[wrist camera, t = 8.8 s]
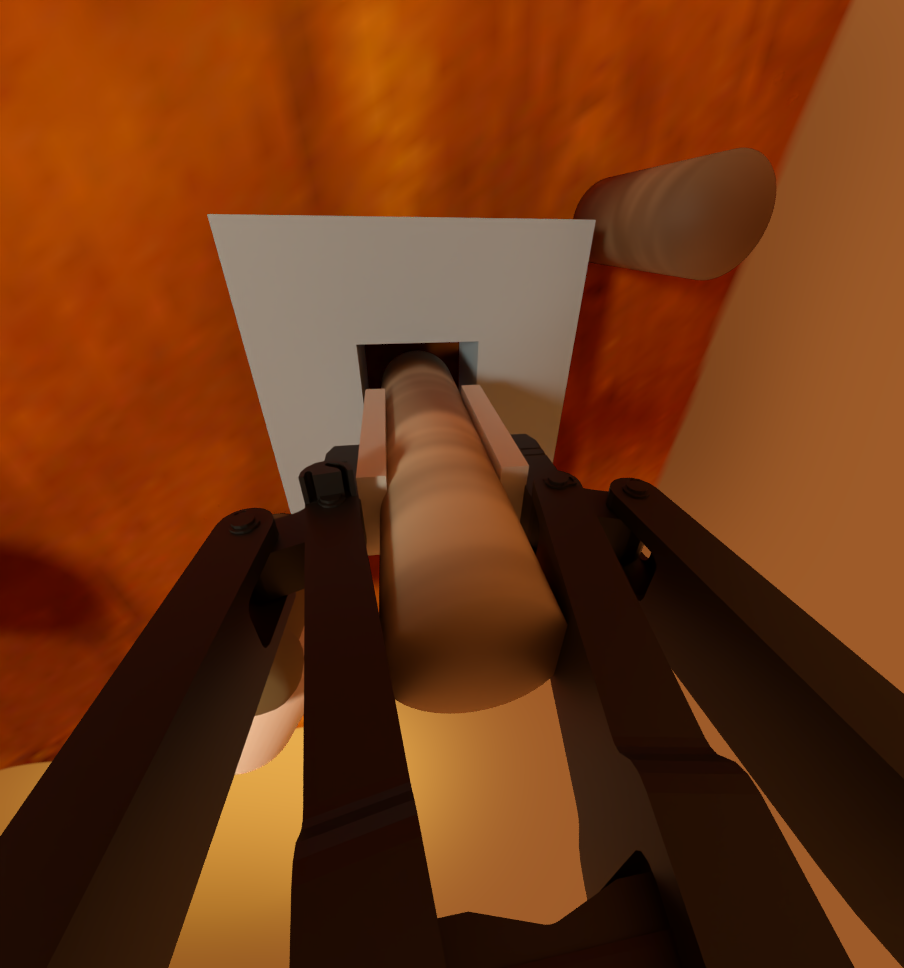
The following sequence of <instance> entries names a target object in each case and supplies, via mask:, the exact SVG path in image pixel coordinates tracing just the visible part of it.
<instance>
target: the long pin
mask: <svg viewBox="0 0 904 968" xmlns="http://www.w3.org/2000/svg"><path fill="white" fill-rule="evenodd" d="M381 389H385V396H386V442H387V492H386V494H385V496H384V498H383V501H382V504H381V510H380V582H379V618H380V623H381V628H382V634H383V639H384V644H385V650H386V655H387V660H388V666H389V671H390V676H391V682H392V687H393V692H394V698H395V699H396V700H397V701H399V702H401V703H402V704H404V705H406V706H409V707H411V708H415V709H418V710H422V711H427V712H434V713H466V712H474V711H480V710H485V709H489V708H493V707H496V706H499V705H503V704H506V703H508V702H511V701H513V700H515V699H518V698H520V697H522V696H524V695H526V694H528V693H530V692H531V691H533V690H535V689H536V688H538V687H539V686H541V685H542V684H544V683H545V682H546V681H547V680H548V679H550V678H551V677H552V676H553V675H554V672H555V669H556V665H557V661H558V658H559V654H560V651H561V647H562V643H563V640H564V636H565V632H566V629H567V625H568V624H567V622H566V620H565V618H564V615H563V613H562V611H561V609H560V607H559V605H558V602H557V600H556V598H555V596H554V594H553V592H552V590H551V587H550V585H549V583H548V581H547V579H546V577H545V575H544V572H543V570H542V568H541V566H540V564H539V562H538V560H537V557H536V555H535V553H534V551H533V549H532V547H531V545H530V542H529V540H528V538H527V536H526V534H525V532H524V530H523V527H522V525H521V523H520V521H519V519H518V517H517V515H516V512H515V510H514V508H513V506H512V504H511V502H510V500H509V497H508V495H507V493H506V491H505V489H504V487H503V485H502V483H501V482H500V479H499V477H498V475H497V473H496V471H495V469H494V466H493V464H492V462H491V460H490V458H489V456H488V453H487V451H486V449H485V447H484V445H483V443H482V441H481V438H480V436H479V434H478V432H477V430H476V428H475V425H474V423H473V421H472V419H471V417H470V415H469V412H468V410H467V408H466V406H465V404H464V402H463V400H462V397H461V395H460V392H459V390H458V388H457V386H456V384H455V382H454V380H453V377H452V375H451V373H450V371H449V369H448V367H447V366H446V364H445V363H444V362H443V361H442V360H441V359H440V358H438V357H437V356H435V355H434V354H431V353H429V352H426V351H409V352H405V353H403V354H400V355H399V356H397V357H396V358H394V359H393V360H392V361H391V362H390V363H389V364H388V366H387V367H386V369H385V371H384V373H383V376H382V382H381Z"/></svg>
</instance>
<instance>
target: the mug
mask: <svg viewBox="0 0 904 968" xmlns="http://www.w3.org/2000/svg"><path fill="white" fill-rule="evenodd" d="M299 641H300V643H301V645H302V648H303V652H304V628H303V631H302V633H301V636H300V639H299ZM303 714H304V665H303V672H302V678H301V680H300V683H299V685H298V687H297V689H296V690H295V692H294V693H293V694H292V696H291V697H290V698H289V699H288V700H287V701H286V703H285V704H283V705H282V706H280V707H279V708H277V709H276V710H273V711H270V712H267V713H265V714H262V715H258V716H254V719H253V722H252V725H251V728H250V731H249V734H248V737H247V740H246V743H245V746H244V748H243V751H242V754H241V757H240V760H239V763H238V766H237V769H236V772H235V774H243V773H247V772H251V771H253V770H256V769H258V768H260V767H262V766H264V765H265V764H267V763H268V762H270V761H271V760H272V759H274V758H275V757H276V756H277V755H278V754H279V753H280V752H281V751H282V750H283V748H284V747H285V746H286V744H287V743H288V741H289V739H290V738H291V736H292V734H293V732H294V730H295V728H296V727H297V725H298V723H299V721H300V719H301V718H302V716H303Z"/></svg>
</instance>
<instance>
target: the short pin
mask: <svg viewBox="0 0 904 968" xmlns="http://www.w3.org/2000/svg"><path fill="white" fill-rule="evenodd" d="M775 198H776V178H775V174H774V170H773V168H772V165H771V163H770V162H769V160H768V159H767V158H766V157H765V156H764V155H763V154H762V153H760V152H759V151H757V150H754V149H751V148H736V149H732V150H728V151H723V152H719V153H714V154H710V155H706V156H701V157H697V158H692V159H688V160H684V161H679V162H675V163H670V164H666V165H662V166H657V167H653V168H648V169H644V170H639V171H635V172H631V173H626V174H622V175H617V176H613V177H609V178H605V179H602V180H600V181H599V182H597V183H595V184H594V185H593V186H592V187H591V188H589V189H588V190H587V192H586V193H585V194H584V195H583V197H582V198H581V200H580V202H579V204H578V206H577V208H576V211H575V214H574V218H573V219H579V220H596V222H595V228H594V233H593V239H592V244H591V250H590V256H589V262H592V263H596V264H603V265H609V266H615V267H621V268H627V269H633V270H639V271H645V272H651V273H658V274H664V275H670V276H676V277H682V278H688V279H694V280H709V279H713V278H717V277H719V276H722V275H724V274H725V273H727V272H729V271H730V270H732V269H734V268H735V267H736V266H737V265H739V264H740V263H741V262H742V261H743V260H744V259H745V258H746V257H747V256H748V255H749V254H750V253H751V251H752V250H753V249H754V248H755V246H756V245H757V244H758V242H759V240H760V239H761V237H762V236H763V234H764V232H765V230H766V228H767V226H768V223H769V221H770V218H771V215H772V212H773V209H774V204H775Z"/></svg>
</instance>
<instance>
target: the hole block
mask: <svg viewBox="0 0 904 968" xmlns="http://www.w3.org/2000/svg"><path fill="white" fill-rule="evenodd" d="M207 215H208V219H209V222H210V226H211V230H212V233H213V237H214V240H215V244H216V247H217V251H218V255H219V258H220V262H221V265H222V269H223V272H224V276H225V279H226V283H227V287H228V290H229V294H230V297H231V301H232V304H233V308H234V312H235V315H236V319H237V322H238V326H239V329H240V333H241V337H242V340H243V344H244V347H245V351H246V354H247V358H248V362H249V365H250V369H251V372H252V376H253V379H254V383H255V387H256V390H257V394H258V397H259V401H260V404H261V408H262V412H263V415H264V419H265V422H266V426H267V429H268V433H269V437H270V440H271V444H272V447H273V451H274V454H275V458H276V462H277V465H278V469H279V472H280V476H281V479H282V483H283V486H284V490H285V494H286V497H287V501H288V504H289V508H290V511H291V514H293V513H296V512H299V511H300V510H302V509H304V508H305V503H304V499H303V495H302V491H301V487H300V483H299V479H298V477H299V474H300V472H301V471H302V470H303V469H305V468H306V467H308V466H310V465H312V464H314V463H318V462H322V461H324V460H325V456H326V453H327V452H329V451H330V450H331V449H332V448H333V447H334V446H344V445H359V444H360V435H361V426H362V417H363V408H364V399H365V390H366V389H369V380H368V371H367V362H366V354H365V345H364V344H399V343H435V342H459V388H458V390H459V392H460V395H461V385H480V386H481V388H482V389H483V391H484V393H485V394H486V396H487V398H488V399H489V401H490V403H491V404H492V406H493V407H494V409H495V411H496V412H497V414H498V416H499V417H500V419H501V421H502V422H503V424H504V425H505V427H506V429H507V430H508V432H509V434H510V435H511V434H527V435H529V436H530V437H532V438H533V439H535V440H536V441H537V442H538V444H539V445H540V447H541V449H543V451H544V452H545V455H547V456H548V458H549V459H550V460H551V462H552V463H553V459H554V453H555V448H556V442H557V436H558V431H559V425H560V419H561V414H562V408H563V402H564V397H565V391H566V386H567V380H568V374H569V369H570V363H571V357H572V352H573V346H574V340H575V335H576V329H577V323H578V318H579V312H580V307H581V301H582V295H583V290H584V284H585V278H586V273H587V267H588V261H589V256H590V250H591V244H592V239H593V233H594V228H595V222H596V220H579V219H509V218H439V217H370V216H300V215H230V214H207Z"/></svg>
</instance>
